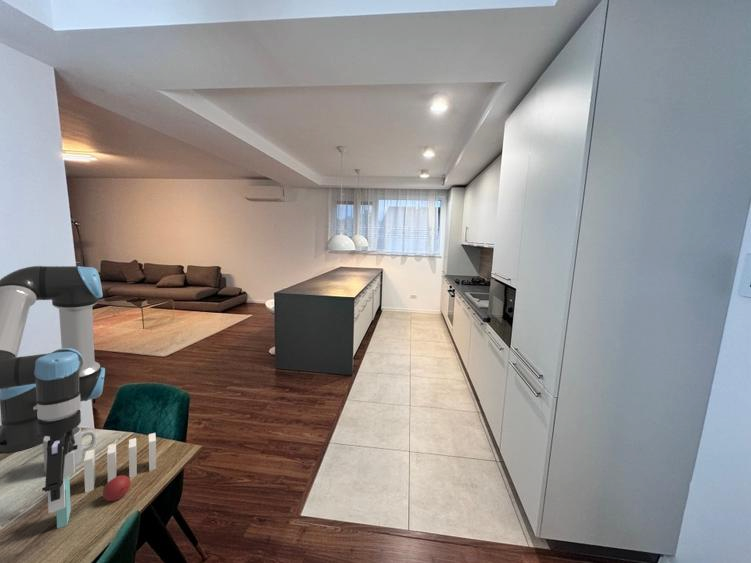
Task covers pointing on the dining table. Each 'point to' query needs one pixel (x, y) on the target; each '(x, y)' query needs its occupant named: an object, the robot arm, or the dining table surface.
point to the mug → (78, 441)
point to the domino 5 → (152, 451)
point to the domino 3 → (112, 462)
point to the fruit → (116, 488)
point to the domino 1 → (65, 512)
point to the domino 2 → (89, 470)
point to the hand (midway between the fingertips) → (62, 491)
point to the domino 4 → (132, 458)
